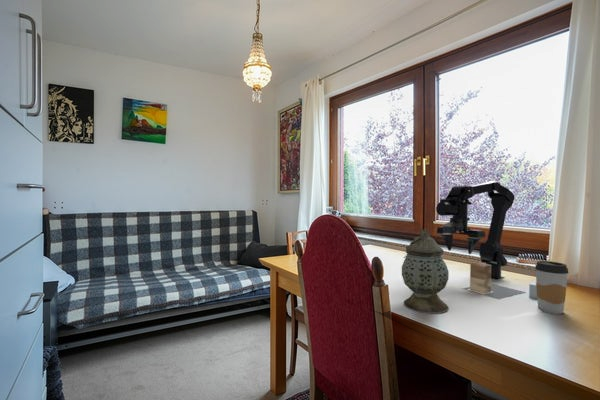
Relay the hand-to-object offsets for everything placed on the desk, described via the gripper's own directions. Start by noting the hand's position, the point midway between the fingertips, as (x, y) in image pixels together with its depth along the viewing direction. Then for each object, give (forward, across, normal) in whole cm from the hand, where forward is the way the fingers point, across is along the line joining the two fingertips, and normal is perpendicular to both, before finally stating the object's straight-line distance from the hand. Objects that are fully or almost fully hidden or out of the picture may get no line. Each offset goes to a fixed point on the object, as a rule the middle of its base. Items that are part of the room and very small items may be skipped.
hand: (459, 252), depth 132 cm
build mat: (+12, +15, -1) cm, 19 cm away
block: (+13, +27, +6) cm, 30 cm away
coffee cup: (+13, +35, -5) cm, 37 cm away
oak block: (+12, +13, -6) cm, 19 cm away
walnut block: (+7, +13, -6) cm, 16 cm away
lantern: (+13, +14, -38) cm, 42 cm away
